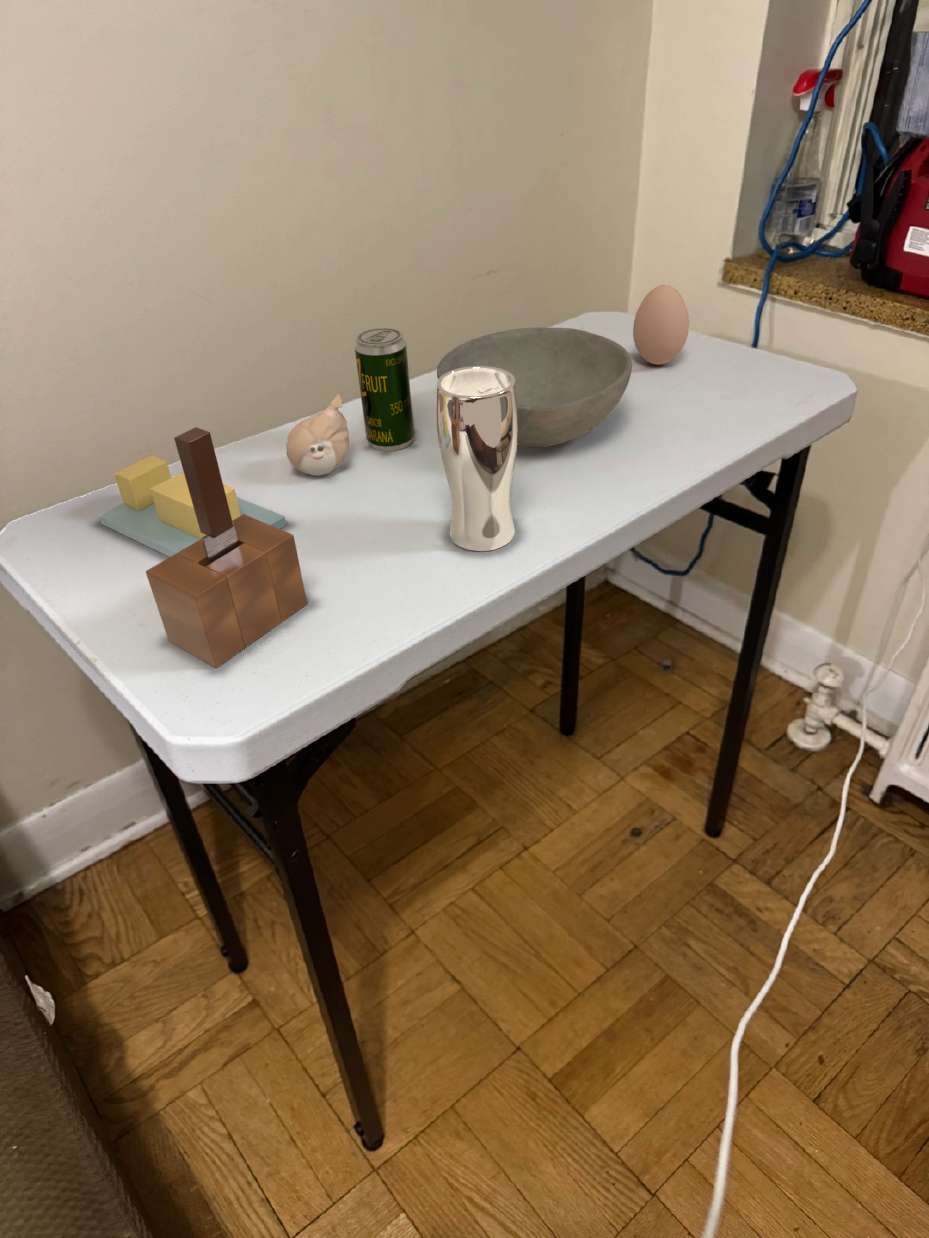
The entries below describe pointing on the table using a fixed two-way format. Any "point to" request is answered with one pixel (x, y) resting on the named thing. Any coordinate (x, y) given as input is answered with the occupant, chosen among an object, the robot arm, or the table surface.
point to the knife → (207, 492)
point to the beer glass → (478, 453)
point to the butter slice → (141, 481)
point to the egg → (661, 325)
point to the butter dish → (165, 536)
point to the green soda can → (385, 388)
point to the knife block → (229, 591)
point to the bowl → (552, 378)
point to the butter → (184, 504)
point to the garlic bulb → (319, 441)
